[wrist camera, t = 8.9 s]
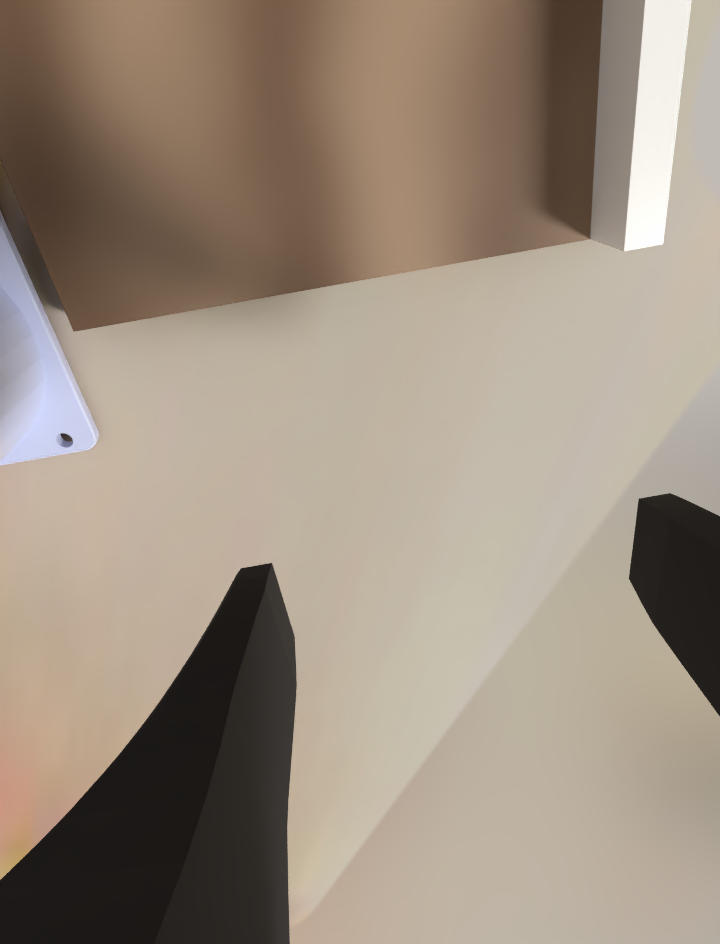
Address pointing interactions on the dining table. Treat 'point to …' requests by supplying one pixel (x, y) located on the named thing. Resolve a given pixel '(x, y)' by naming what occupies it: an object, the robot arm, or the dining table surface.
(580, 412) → the dining table surface
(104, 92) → the brown tray
